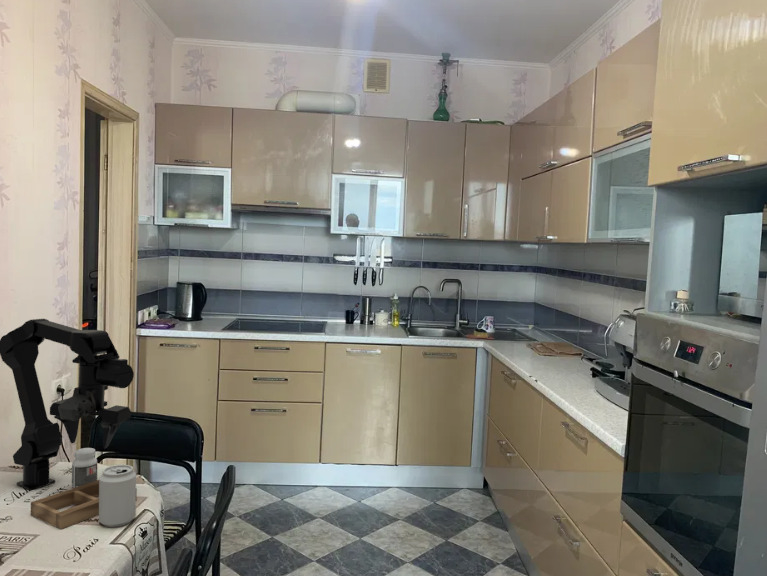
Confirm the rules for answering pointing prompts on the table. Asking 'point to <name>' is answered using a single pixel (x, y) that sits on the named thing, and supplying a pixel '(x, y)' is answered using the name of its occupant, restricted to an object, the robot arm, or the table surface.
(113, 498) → the can
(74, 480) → the pill bottle
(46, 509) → the wooden divided tray
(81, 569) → the table surface
